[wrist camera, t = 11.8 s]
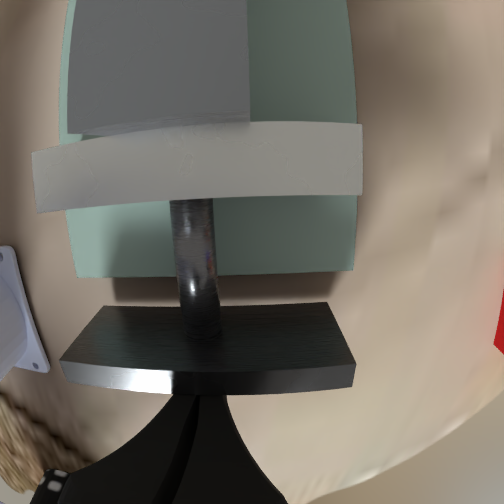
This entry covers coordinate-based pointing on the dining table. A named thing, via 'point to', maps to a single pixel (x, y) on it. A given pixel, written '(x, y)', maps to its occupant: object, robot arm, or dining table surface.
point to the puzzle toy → (500, 329)
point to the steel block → (157, 65)
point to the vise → (252, 207)
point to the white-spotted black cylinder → (50, 487)
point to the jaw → (206, 256)
